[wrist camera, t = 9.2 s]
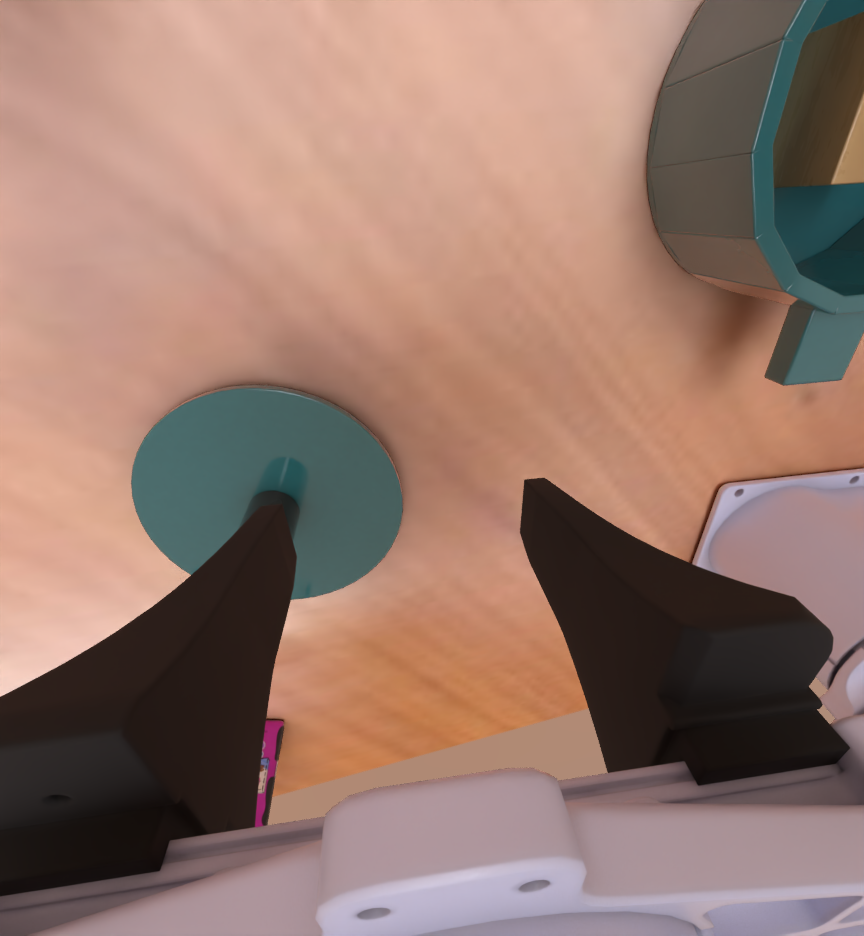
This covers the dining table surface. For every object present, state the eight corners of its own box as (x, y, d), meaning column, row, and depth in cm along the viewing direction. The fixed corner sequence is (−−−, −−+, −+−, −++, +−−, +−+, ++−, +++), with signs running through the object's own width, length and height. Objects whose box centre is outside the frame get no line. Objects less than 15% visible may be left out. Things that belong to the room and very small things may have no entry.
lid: (388, 367, 19) (391, 405, 15) (410, 572, 25) (416, 633, 22) (93, 392, 18) (20, 439, 14) (194, 597, 24) (162, 666, 21)
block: (885, 43, 14) (1042, -10, 11) (833, 184, 17) (951, 177, 13) (774, 47, 14) (899, -5, 11) (736, 190, 16) (831, 185, 13)
